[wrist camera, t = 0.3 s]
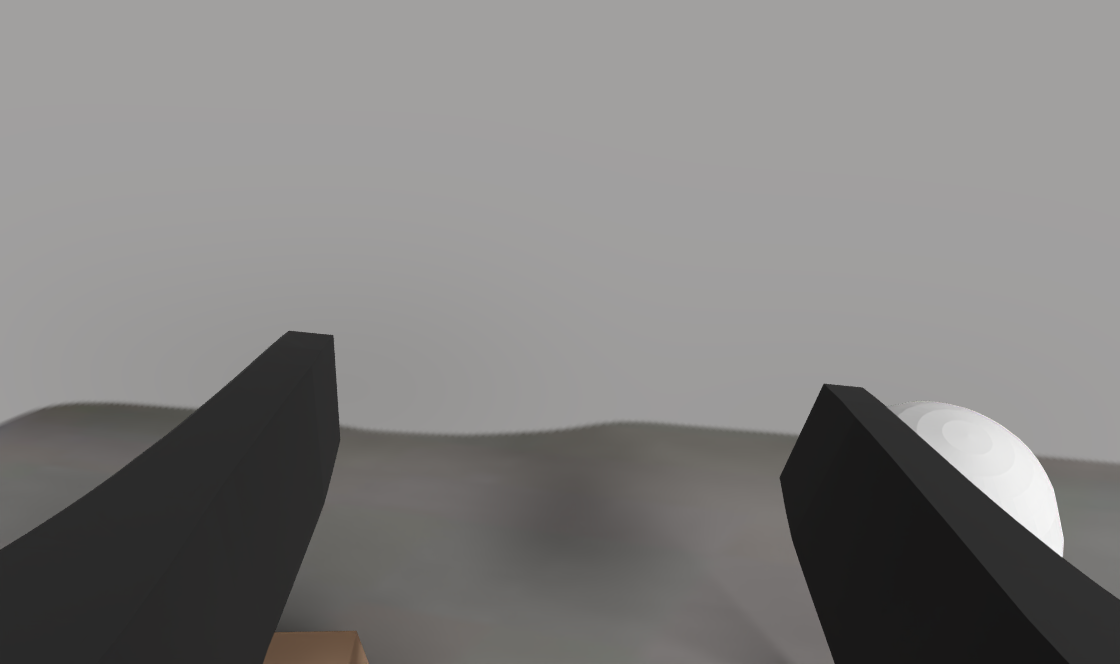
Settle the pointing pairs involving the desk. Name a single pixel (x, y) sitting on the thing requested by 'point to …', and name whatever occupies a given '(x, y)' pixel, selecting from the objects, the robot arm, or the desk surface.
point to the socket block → (315, 648)
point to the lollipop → (990, 463)
